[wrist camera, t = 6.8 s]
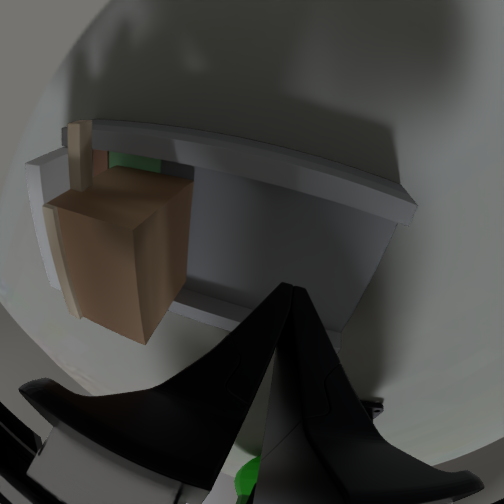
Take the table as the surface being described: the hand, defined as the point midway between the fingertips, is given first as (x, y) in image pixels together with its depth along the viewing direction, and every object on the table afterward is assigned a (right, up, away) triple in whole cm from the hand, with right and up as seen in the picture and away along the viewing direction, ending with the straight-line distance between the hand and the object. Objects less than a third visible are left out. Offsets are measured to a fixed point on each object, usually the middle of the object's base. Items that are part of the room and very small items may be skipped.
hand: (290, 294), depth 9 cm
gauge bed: (-3, +3, +3) cm, 5 cm away
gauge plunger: (-5, +3, +1) cm, 7 cm away
